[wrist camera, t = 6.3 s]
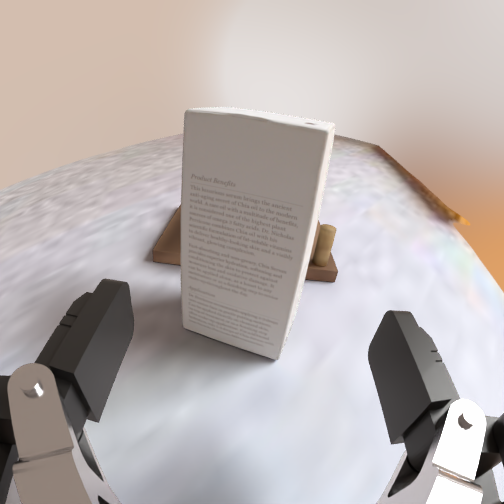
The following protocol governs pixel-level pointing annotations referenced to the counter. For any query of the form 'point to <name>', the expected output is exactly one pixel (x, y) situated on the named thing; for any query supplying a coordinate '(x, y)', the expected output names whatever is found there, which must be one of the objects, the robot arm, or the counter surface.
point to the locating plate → (319, 261)
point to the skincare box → (249, 221)
